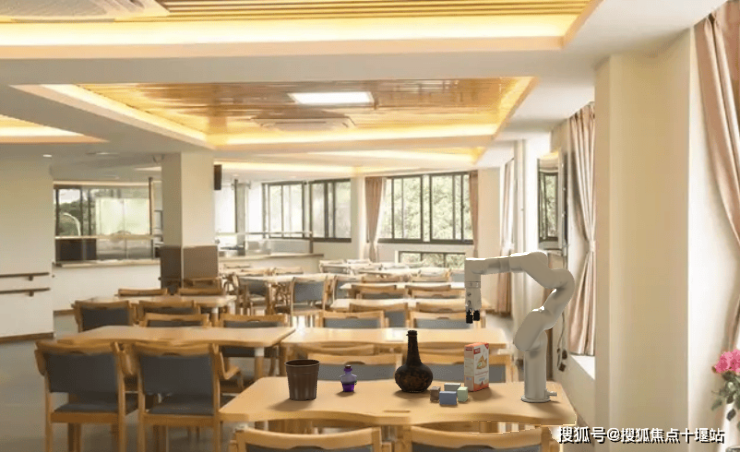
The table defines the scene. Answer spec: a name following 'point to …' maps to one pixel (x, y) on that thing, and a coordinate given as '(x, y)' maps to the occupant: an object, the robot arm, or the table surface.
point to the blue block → (448, 397)
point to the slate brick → (452, 387)
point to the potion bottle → (348, 379)
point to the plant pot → (302, 378)
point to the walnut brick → (435, 393)
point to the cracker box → (476, 366)
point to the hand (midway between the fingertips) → (473, 322)
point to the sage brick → (462, 393)
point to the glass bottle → (413, 369)
